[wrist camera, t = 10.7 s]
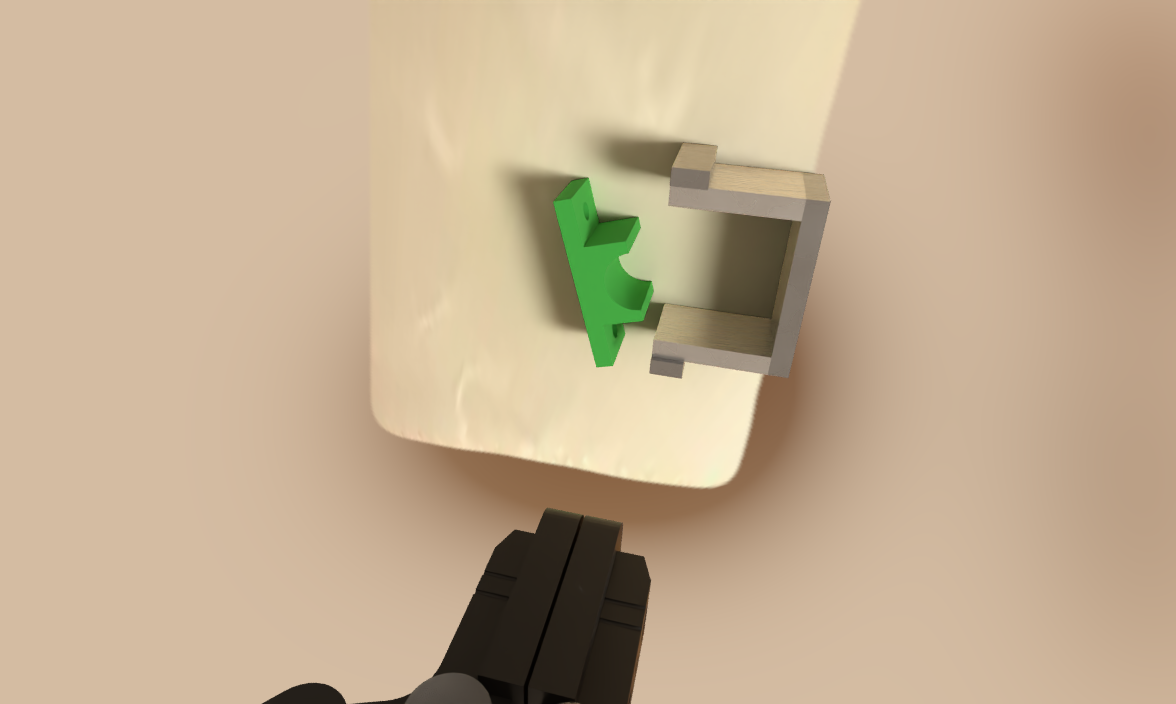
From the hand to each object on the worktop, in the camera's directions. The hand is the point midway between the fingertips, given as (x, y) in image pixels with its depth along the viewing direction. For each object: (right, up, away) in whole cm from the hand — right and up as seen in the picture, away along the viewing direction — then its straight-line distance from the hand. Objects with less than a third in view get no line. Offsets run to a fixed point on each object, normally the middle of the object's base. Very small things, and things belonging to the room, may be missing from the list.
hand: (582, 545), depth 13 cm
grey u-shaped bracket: (+9, +10, +29) cm, 32 cm away
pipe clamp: (+2, +10, +31) cm, 33 cm away
